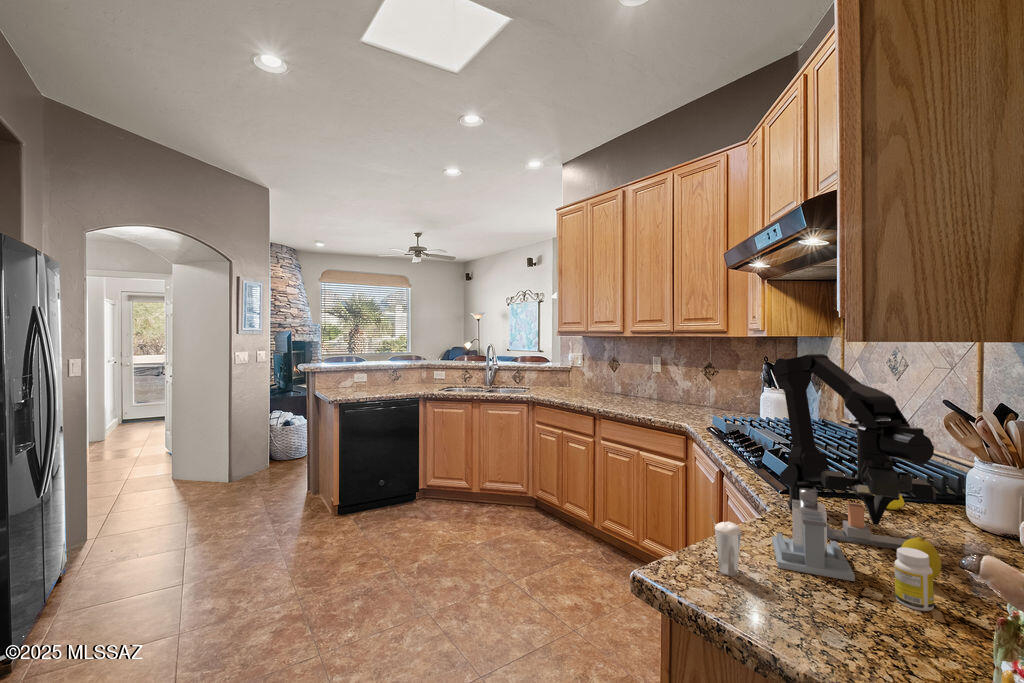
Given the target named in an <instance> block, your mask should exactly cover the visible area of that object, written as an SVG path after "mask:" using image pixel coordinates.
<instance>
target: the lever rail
mask: <svg viewBox="0 0 1024 683" xmlns="http://www.w3.org/2000/svg"><path fill="white" fill-rule="evenodd" d="M870 536H871V540H868V539H861V538H854V537H848V536H847V535H846V533H845V532H844V530H843V529H837V528H836V529H835V528H831V526H830V524H829V523H827V540H830V541H839V542H846V543H852V544H860V545H868V546H873V547H881V548H887V549H888V548H889V549H893V550H897V549H898V548H900V547H901V546H902V544H903V543H904V542H905V541H906V540H908V539H912V538H916V536H914V535H913V534H907V537H906V538H901V537H894V536H893V537H892V536H887V535H879V534H872V533H870Z"/></svg>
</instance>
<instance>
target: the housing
mask: <svg viewBox="0 0 1024 683" xmlns="http://www.w3.org/2000/svg"><path fill="white" fill-rule="evenodd" d="M799 491H800V500H793V499H792V510H791V512H792V539H793V552H798V553H804V530H803V522H802V520H801V515H806V516H813V517H821V518H824V520H825V521H826V527H824V549H825V557H827V544H828V539H827V524H828V520H827V517H828V516H827V513H828V512H827V508H826V506H825V503H822V502H818V491H817V490H816V489H815V490H813V489H808V488H801V489H799Z"/></svg>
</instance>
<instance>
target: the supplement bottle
mask: <svg viewBox="0 0 1024 683" xmlns="http://www.w3.org/2000/svg"><path fill="white" fill-rule="evenodd" d="M893 564H894V566H893V568H894V591H895V592H894V594H895V600H896V601H897V602H898V603H899V604H902V605H903V606H905V607H907V608H910V609H912V610H916V611H921V612H929V611H933V610H934V608H935V605H934V603H935V601H934V600H935V598H934V597H935V596H934V579H933V571H932V569H931V568H930V567H929V556H928V554H926V553H924V552H922V551H920V550H917V549H913V548H906V547H900V548H898V549H896V560H894V563H893Z"/></svg>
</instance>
